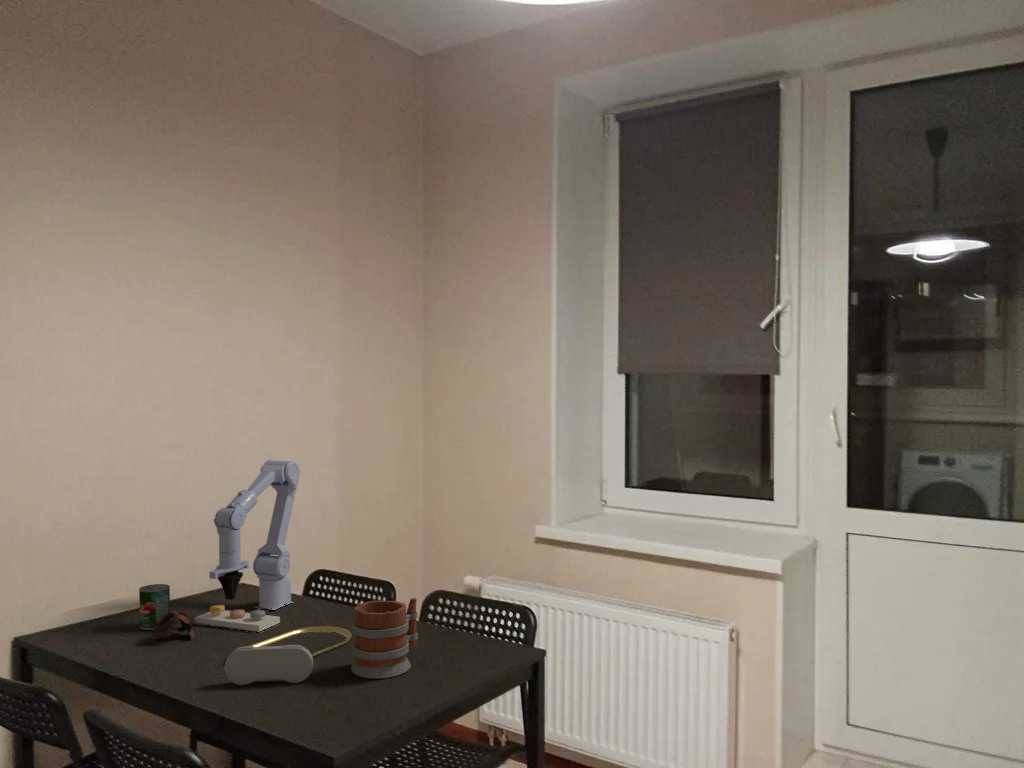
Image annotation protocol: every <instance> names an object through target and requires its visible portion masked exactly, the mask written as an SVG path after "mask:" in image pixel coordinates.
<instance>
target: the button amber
mask: <svg viewBox="0 0 1024 768" xmlns="http://www.w3.org/2000/svg"><path fill="white" fill-rule="evenodd" d="M225 610H226V609H225V605H224V604H217V605H211V606H209V612H210V613H220V612H224V611H225Z"/></svg>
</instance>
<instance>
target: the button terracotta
mask: <svg viewBox="0 0 1024 768" xmlns="http://www.w3.org/2000/svg"><path fill="white" fill-rule="evenodd" d="M229 611H230V617H232V618H239V617H243V616H245V613H246V612H245V609H233V610H229Z"/></svg>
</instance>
